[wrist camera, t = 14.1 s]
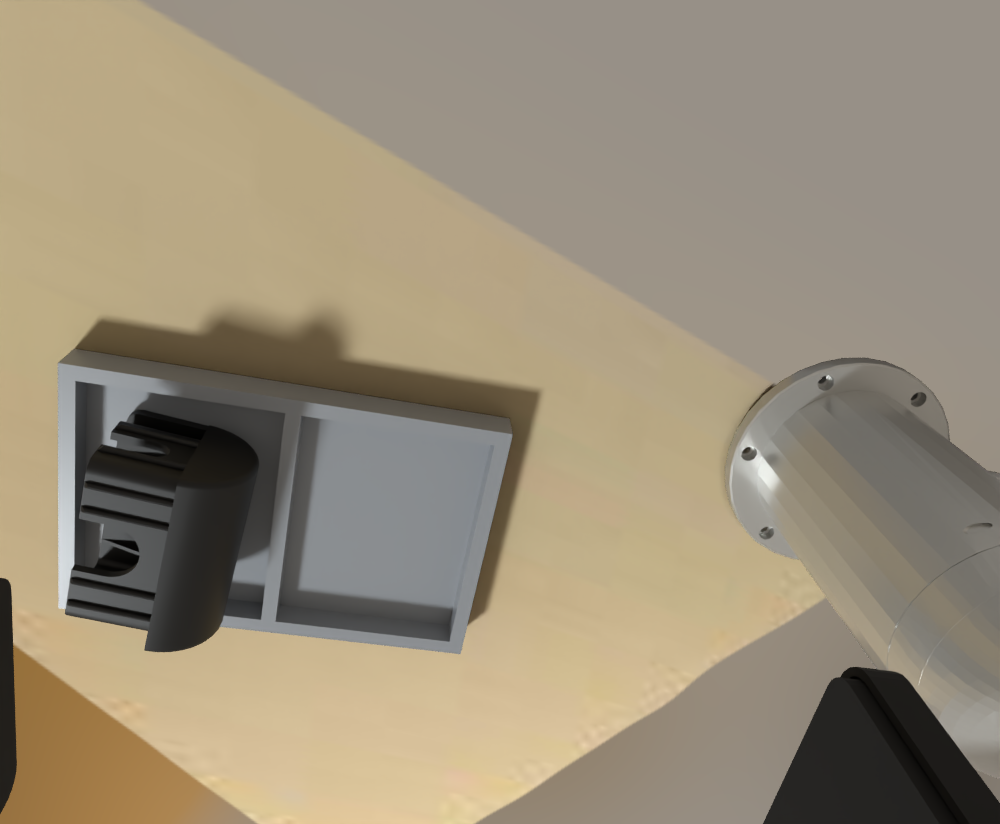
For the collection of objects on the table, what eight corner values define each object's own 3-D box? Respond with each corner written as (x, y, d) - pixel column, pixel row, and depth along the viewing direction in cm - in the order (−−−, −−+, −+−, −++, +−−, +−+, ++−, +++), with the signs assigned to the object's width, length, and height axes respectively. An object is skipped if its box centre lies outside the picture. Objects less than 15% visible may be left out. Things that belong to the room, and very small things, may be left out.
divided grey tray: (509, 418, 45) (513, 434, 43) (459, 631, 51) (460, 654, 49) (74, 348, 41) (57, 362, 40) (73, 586, 47) (58, 608, 45)
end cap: (236, 583, 47) (207, 665, 41) (107, 556, 46) (57, 636, 40) (272, 432, 44) (246, 497, 37) (133, 397, 42) (82, 459, 36)
